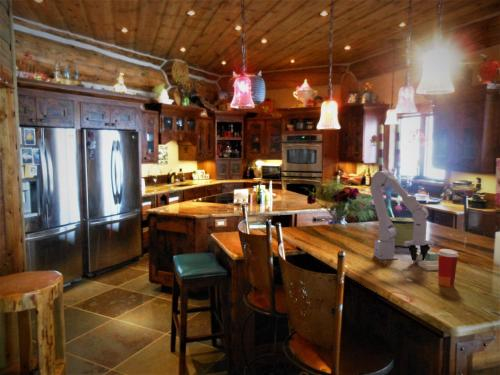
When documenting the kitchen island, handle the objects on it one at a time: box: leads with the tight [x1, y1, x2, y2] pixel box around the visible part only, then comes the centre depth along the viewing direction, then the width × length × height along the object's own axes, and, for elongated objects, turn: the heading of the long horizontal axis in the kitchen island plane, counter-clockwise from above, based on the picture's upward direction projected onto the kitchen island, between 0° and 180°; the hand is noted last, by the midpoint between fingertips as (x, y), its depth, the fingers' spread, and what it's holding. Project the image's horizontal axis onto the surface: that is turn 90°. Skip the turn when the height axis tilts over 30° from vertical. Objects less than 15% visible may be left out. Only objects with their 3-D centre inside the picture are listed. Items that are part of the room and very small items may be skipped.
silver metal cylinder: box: [412, 251, 423, 266], centre depth 185 cm, size 4×4×5 cm
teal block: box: [424, 251, 438, 261], centre depth 186 cm, size 4×4×5 cm
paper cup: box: [437, 248, 460, 288], centre depth 157 cm, size 8×8×14 cm
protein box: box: [389, 216, 414, 250], centre depth 217 cm, size 10×16×16 cm
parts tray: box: [417, 260, 438, 271], centre depth 179 cm, size 12×7×2 cm, turn 99°
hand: (417, 260), depth 185 cm, fingers closed on silver metal cylinder, 4 cm apart
